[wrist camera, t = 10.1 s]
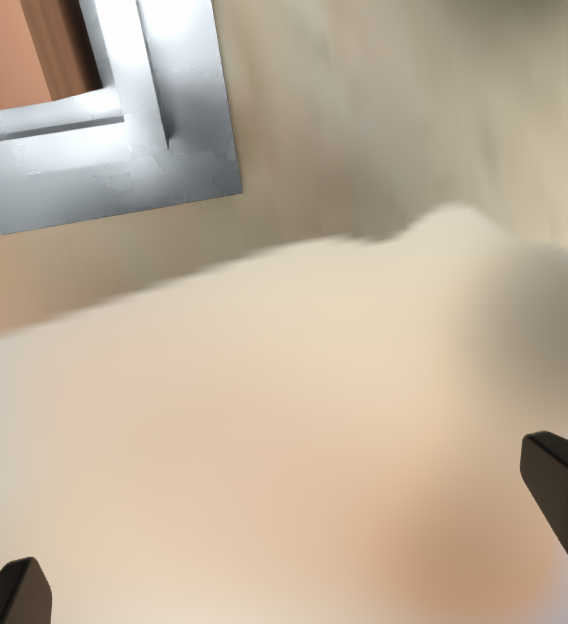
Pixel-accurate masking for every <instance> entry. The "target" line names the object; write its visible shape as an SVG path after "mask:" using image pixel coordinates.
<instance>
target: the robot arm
mask: <svg viewBox="0 0 568 624" xmlns="http://www.w3.org/2000/svg"><path fill="white" fill-rule="evenodd" d="M520 472H521V475H522V478H523V480H524V482H525V484H526V485H527V487H528V489H529V491H530V492H531V494H532V496H533V497H534V499H535V501H536V502H537V504H538V506H539V507H540V509H541V511H542V513H543V514H544V516H545V518H546V519H547V521H548V523H549V524H550V526H551V528H552V529H553V531H554V533H555V535H556V536H557V538H558V540H559V541H560V543H561V544H562V546H563V548H564V549H565V551H566V552H567V554H568V440H567V439H565V438H563V437H560V436H558V435H556V434H553V433H551V432H548V431H539V432H535V433H531V434H527V435H525V436H524V438H523V440H522V449H521V460H520ZM51 610H52V592H51V589H50V586H49V583H48V581H47V580H46V577H45V575H44V573H43V571H42V570H41V567H40V566H39V563H38V561H37V560H36V559H35V558H34V557H27V558H22V559H18V560H14V561H11V562H9V563H7V564H6V565H5V566H4V567H3V568H2V569H1V570H0V624H50V623H51Z"/></svg>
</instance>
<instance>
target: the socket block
mask: <svg viewBox="0 0 568 624" xmlns="http://www.w3.org/2000/svg"><path fill="white" fill-rule="evenodd" d="M79 3H80V7H81V11H82V14H83V18H84V21H85V25H86V28H87V32H88V36H89V39H90V43H91V46H92V50H93V54H94V57H95V61H96V64H97V68H98V71H99V75H100V79H101V82H102V86H103V89H100V90H96V91H92V92H88V93H84V94H80V95H76V96H72V97H68V98H64V99H60V100H56V101H52V102H46V103H40V104H34V105H29V106H23V107H17V108H11V109H5V110H0V235H5V234H11V233H16V232H22V231H28V230H34V229H39V228H45V227H51V226H57V225H62V224H68V223H74V222H80V221H85V220H91V219H97V218H103V217H108V216H114V215H120V214H126V213H131V212H137V211H143V210H149V209H154V208H160V207H166V206H172V205H177V204H183V203H189V202H195V201H200V200H206V199H212V198H218V197H223V196H229V195H235V194H241V193H243V192H242V186H241V180H240V173H239V167H238V161H237V155H236V149H235V143H234V137H233V131H232V125H231V119H230V113H229V107H228V100H227V94H226V88H225V82H224V76H223V70H222V64H221V58H220V52H219V46H218V40H217V34H216V27H215V21H214V15H213V9H212V3H211V0H79Z"/></svg>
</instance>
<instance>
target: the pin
mask: <svg viewBox="0 0 568 624" xmlns="http://www.w3.org/2000/svg"><path fill="white" fill-rule="evenodd" d="M100 89H103V86H102V82H101V79H100V75H99V71H98V68H97V64H96V61H95V57H94V54H93V50H92V46H91V43H90V39H89V36H88V32H87V28H86V25H85V21H84V18H83V14H82V11H81V7H80V3H79V0H0V110H5V109H11V108H17V107H23V106H29V105H34V104H40V103H46V102H52V101H56V100H60V99H64V98H68V97H72V96H76V95H80V94H84V93H88V92H92V91H96V90H100Z"/></svg>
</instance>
